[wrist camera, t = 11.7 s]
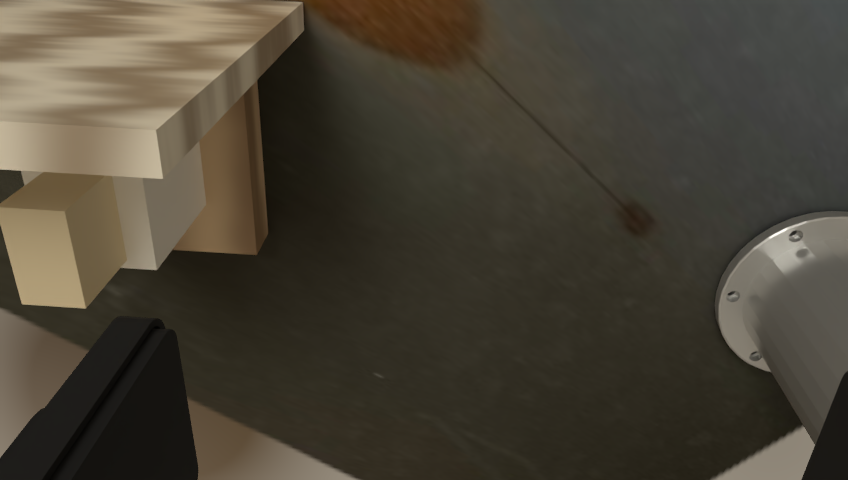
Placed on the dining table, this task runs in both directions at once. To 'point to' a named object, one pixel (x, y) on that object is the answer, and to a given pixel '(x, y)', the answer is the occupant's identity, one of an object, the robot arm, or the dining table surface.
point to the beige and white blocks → (95, 228)
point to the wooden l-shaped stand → (146, 97)
